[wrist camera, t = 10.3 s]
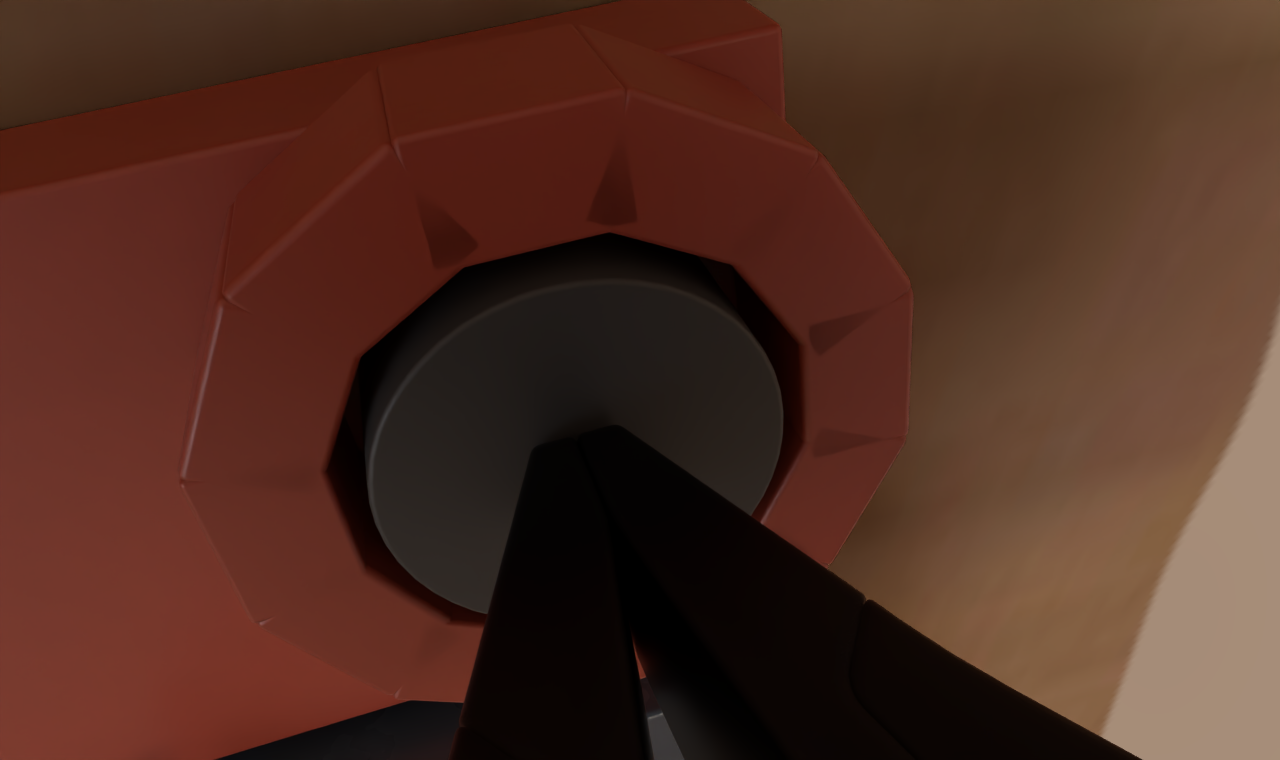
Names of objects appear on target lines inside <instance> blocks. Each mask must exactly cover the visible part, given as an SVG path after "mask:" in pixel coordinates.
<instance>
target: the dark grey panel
mask: <svg viewBox="0 0 1280 760" xmlns="http://www.w3.org/2000/svg"><path fill="white" fill-rule="evenodd" d="M640 680H641V685H642V691H643V697H644V703H645V708H646V714H647V720H648V726H649V731H650V737H651V743H652V749H653V755H654V760H684V758H683V756H682V753H681V751H680V749H679V747H678V745H677V743H676V740H675V738H674V736H673V734H672V732H671V730H670V728H669V725H668V723H667V721H666V719H665V717H664V715H663V712H662V710H661V708H660V706H659V704H658V702H657V699H656V697H655V695H654V693H653V691H652V689H651V686H650V684H649V682H648V680H647V678H646V677H645V678H642V679H640ZM462 707H463V703H460V702H439V701H419V700H409V701H406V702H403V703H399V704H396V705H393V706H390V707H386V708H383V709H380V710H376V711H373V712H370V713H367V714H363V715H360V716H357V717H353V718H350V719H347V720H344V721H340V722H337V723H334V724H330V725H327V726H324V727H321V728H317V729H314V730H311V731H307V732H304V733H301V734H297V735H294V736H291V737H288V738H284V739H281V740H278V741H274V742H271V743H268V744H265V745H261V746H258V747H255V748H251V749H248V750H245V751H242V752H238V753H235V754H232V755H228V756H225V757H222V758H218V759H215V760H448V758H449V754H450V750H451V747H452V743H453V739H454V735H455V732H456V730H457V729H458V728H459V727H460V726H459V718H460V715H461V711H462Z"/></svg>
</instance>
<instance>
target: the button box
mask: <svg viewBox="0 0 1280 760" xmlns="http://www.w3.org/2000/svg"><path fill="white" fill-rule="evenodd" d="M608 232H611V233H615V234H618V235H622V236H626V237H630V238H633V239H637V240H641V241H645V242H648V243H652V244H656V245H660V246H663V247H667V248H671V249H675V250H678V251H682V252H686V253H690V254H693V255H697V256H698V257H699V259H700V260H701V261H702V263H703V264H704V265H705V267H706V268H707V269H708V271H709V272H710V274H711V275H712V276H713V278H714V279H715V281H716V282H717V284H718V285H719V286H720V288H721V289H722V291H723V292H724V293H725V295H726V296H727V298H728V299H729V301H730V302H731V303H732V305H733V306H734V308H735V309H736V311H737V312H738V313H739V315H740V316H741V318H742V319H743V321H744V322H745V323H746V325H747V326H748V328H749V329H750V331H751V332H752V333H753V335H754V336H755V338H756V339H757V340H758V342H759V343H760V345H761V346H762V348H763V349H764V350H765V352H766V354H767V356H768V358H769V360H770V362H771V364H772V366H773V368H774V370H775V374H776V377H777V380H778V383H779V386H780V390H781V397H782V404H783V437H782V443H781V449H780V454H779V458H778V461H777V464H776V468H775V471H774V474H773V477H772V479H771V481H770V483H769V485H768V487H767V489H766V492H765V494H764V496H763V498H762V499H761V501H760V502H759V504H758V506H757V507H756V509H755V510H754V512H753V514H752V515H751V516H752V517H753V518H755V519H756V520H757V521H759V522H760V523H762V524H763V525H765V526H766V527H768V528H769V529H770V530H772V531H773V532H775V533H776V534H778V535H779V536H780V537H782V538H783V539H785V540H786V541H788V542H789V543H791V544H792V545H793V546H795V547H796V548H798V549H799V550H801V551H802V552H803V553H805V554H806V555H808V556H809V557H811V558H812V559H814V560H815V561H816V562H818V563H819V564H821V565H822V566H824V567H825V568H826V569H827V568H828V567H829V566H828V564H830V563H832V562H833V561H834V559H835V558H836V556H837V554H838V553H839V551H840V549H841V548H842V546H843V544H844V543H845V541H846V539H847V538H848V536H849V535H850V533H851V531H852V530H853V528H854V526H855V525H856V523H857V521H858V520H859V518H860V516H861V515H862V513H863V512H864V510H865V508H866V507H867V505H868V503H869V502H870V500H871V498H872V497H873V495H874V493H875V492H876V490H877V489H878V487H879V485H880V484H881V482H882V480H883V479H884V477H885V475H886V474H887V472H888V470H889V469H890V467H891V466H892V464H893V462H894V461H895V459H896V457H897V456H898V454H899V452H900V451H901V449H902V447H903V446H904V444H905V442H906V435H907V433H908V430H909V404H910V379H911V353H912V327H913V301H914V295H913V291H912V289H911V284H910V279H909V277H908V276H907V274H906V273H905V272H904V270H903V269H902V267H901V266H900V264H899V263H898V261H897V260H896V259H895V257H894V256H893V254H892V253H891V251H890V250H889V248H888V247H887V246H886V244H885V243H884V241H883V240H882V238H881V237H880V235H879V234H878V232H877V231H876V230H875V228H874V227H873V225H872V224H871V222H870V221H869V219H868V218H867V217H866V215H865V214H864V212H863V211H862V209H861V208H860V206H859V205H858V204H857V202H856V201H855V199H854V198H853V196H852V195H851V193H850V192H849V191H848V189H847V188H846V186H845V185H844V183H843V182H842V180H841V179H840V178H839V176H838V175H837V173H836V172H835V170H834V169H833V167H832V166H831V165H830V163H829V162H828V160H827V159H826V157H825V156H824V155H823V154H822V153H820V152H819V151H818V150H817V149H816V148H815V147H814V146H813V145H811V144H810V143H809V142H808V141H807V140H806V139H805V138H803V137H802V136H801V135H800V134H799V133H798V132H797V131H796V130H794V129H793V128H792V127H791V126H790V125H789V124H788V123H787V122H786V115H785V92H784V69H783V46H782V29H781V27H780V25H779V24H778V23H776V22H775V21H774V20H772V19H771V18H769V17H768V16H766V15H765V14H763V13H762V12H761V11H759V10H758V9H756V8H755V7H753V6H752V5H750V4H749V3H748V2H746V1H745V0H622V1H617V2H612V3H607V4H602V5H598V6H593V7H588V8H583V9H579V10H574V11H569V12H564V13H559V14H555V15H550V16H545V17H540V18H536V19H531V20H526V21H521V22H516V23H512V24H507V25H502V26H497V27H492V28H488V29H483V30H478V31H473V32H469V33H464V34H459V35H454V36H449V37H445V38H440V39H435V40H430V41H426V42H421V43H416V44H411V45H406V46H402V47H397V48H392V49H387V50H382V51H378V52H373V53H368V54H363V55H359V56H354V57H349V58H344V59H339V60H335V61H330V62H325V63H320V64H316V65H311V66H306V67H301V68H296V69H292V70H287V71H282V72H277V73H272V74H268V75H263V76H258V77H253V78H249V79H244V80H239V81H234V82H229V83H225V84H220V85H215V86H210V87H206V88H201V89H196V90H191V91H186V92H182V93H177V94H172V95H167V96H162V97H158V98H153V99H148V100H143V101H139V102H134V103H129V104H124V105H119V106H115V107H110V108H105V109H100V110H96V111H91V112H86V113H81V114H76V115H72V116H67V117H62V118H57V119H52V120H48V121H43V122H38V123H33V124H29V125H24V126H19V127H14V128H9V129H5V130H0V760H215V759H218V758H222V757H225V756H228V755H232V754H235V753H238V752H242V751H245V750H248V749H251V748H255V747H258V746H261V745H265V744H268V743H271V742H274V741H278V740H281V739H284V738H288V737H291V736H294V735H297V734H301V733H304V732H307V731H311V730H314V729H317V728H321V727H324V726H327V725H330V724H334V723H337V722H340V721H344V720H347V719H350V718H353V717H357V716H360V715H363V714H367V713H370V712H373V711H376V710H380V709H383V708H386V707H390V706H393V705H396V704H399V703H403V702H406V701H409V700H419V701H439V702H460V703H464V700H465V696H466V692H467V689H468V685H469V681H470V677H471V674H472V670H473V666H474V662H475V659H476V655H477V651H478V647H479V644H480V640H481V636H482V632H483V629H484V625H485V621H486V617H487V614H484V613H480V612H476V611H473V610H470V609H468V608H465V607H462V606H460V605H457V604H455V603H452V602H450V601H448V600H447V599H445V598H443V597H441V596H439V595H437V594H435V593H434V592H432V591H431V590H429V589H428V588H427V587H425V586H424V585H422V584H421V583H420V582H418V581H417V580H416V579H414V578H413V577H412V576H411V575H410V574H409V573H408V572H407V571H406V570H405V569H404V568H403V567H402V566H401V565H400V564H399V562H398V561H397V560H396V558H395V557H394V556H393V554H392V553H391V552H390V550H389V549H388V547H387V546H386V545H385V543H384V541H383V539H382V537H381V535H380V533H379V531H378V529H377V527H376V525H375V522H374V518H373V515H372V511H371V508H370V504H369V498H368V488H367V479H366V466H365V453H364V440H363V428H362V415H361V402H360V389H359V369H360V359H361V357H362V356H363V355H364V354H365V353H366V352H367V351H368V350H370V349H371V348H372V347H373V346H374V345H375V344H377V343H378V342H379V341H380V340H381V339H382V338H383V337H385V336H386V335H387V334H388V333H389V332H390V331H391V330H393V329H394V328H395V327H396V326H397V325H398V324H400V323H401V322H402V321H403V320H404V319H405V318H406V317H408V316H409V315H410V314H411V313H412V312H413V311H414V310H416V309H417V308H418V307H419V306H420V305H421V304H423V303H424V302H425V301H426V300H427V299H428V298H429V297H431V296H432V295H433V294H434V293H435V292H436V291H437V290H439V289H440V288H441V287H442V286H443V285H444V284H446V283H447V282H448V281H449V280H450V279H451V278H452V277H454V276H455V275H456V274H457V273H458V272H459V271H460V270H462V269H463V268H464V267H468V266H472V265H476V264H481V263H485V262H489V261H493V260H497V259H501V258H505V257H509V256H513V255H518V254H522V253H526V252H530V251H534V250H538V249H542V248H546V247H550V246H555V245H559V244H563V243H567V242H571V241H575V240H579V239H583V238H587V237H592V236H596V235H600V234H604V233H608ZM634 650H635V648H634ZM635 655H636V660H637V665H638V670H639V675H640V679H642V678H645V677H646V675H645V673H644V671H643V668H642V666H641V664H640V661H639V659H638V656H637V653H636V650H635Z"/></svg>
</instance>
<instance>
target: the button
mask: <svg viewBox="0 0 1280 760" xmlns="http://www.w3.org/2000/svg"><path fill="white" fill-rule="evenodd" d="M359 389H360V402H361V415H362V428H363V440H364V453H365V466H366V479H367V488H368V498H369V504H370V508H371V511H372V515H373V518H374V522H375V525H376V527H377V529H378V531H379V533H380V535H381V537H382V539H383V541H384V543H385V545H386V546H387V547H388V549H389V550H390V552H391V553H392V554H393V556H394V557H395V558H396V560H397V561H398V562H399V564H400V565H401V566H402V567H403V568H404V569H405V570H406V571H407V572H408V573H409V574H410V575H411V576H412V577H413V578H414V579H416V580H417V581H418V582H420V583H421V584H422V585H424V586H425V587H427V588H428V589H429V590H431V591H432V592H434V593H435V594H437V595H439V596H441V597H443V598H445V599H447V600H448V601H450V602H452V603H455V604H457V605H460V606H462V607H465V608H468V609H470V610H473V611H476V612H480V613H484V614H488V610H489V606H490V602H491V599H492V595H493V591H494V587H495V584H496V580H497V576H498V572H499V569H500V565H501V561H502V558H503V554H504V550H505V546H506V543H507V539H508V535H509V531H510V528H511V524H512V520H513V516H514V513H515V509H516V505H517V501H518V498H519V494H520V490H521V486H522V483H523V479H524V475H525V471H526V468H527V464H528V460H529V456H530V453H531V451H532V449H533V448H534V447H536V446H538V445H541V444H545V443H548V442H552V441H556V440H559V439H563V438H567V437H571V438H574V439H575V440H576V441H577V440H578V437H579V436H580V435H581V434H582V433H585V432H588V431H592V430H596V429H599V428H603V427H607V426H610V425H620V426H622V427H624V428H625V429H627V430H628V431H630V432H631V433H632V434H634V435H635V436H637V437H638V438H640V439H641V440H643V441H644V442H645V443H647V444H648V445H650V446H651V447H653V448H654V449H655V450H657V451H658V452H660V453H661V454H663V455H664V456H666V457H667V458H668V459H670V460H671V461H673V462H674V463H676V464H677V465H678V466H680V467H681V468H683V469H684V470H686V471H687V472H689V473H690V474H691V475H693V476H694V477H696V478H697V479H699V480H700V481H701V482H703V483H704V484H706V485H707V486H709V487H710V488H712V489H713V490H714V491H716V492H717V493H719V494H720V495H722V496H723V497H724V498H726V499H727V500H729V501H730V502H732V503H733V504H734V505H736V506H737V507H739V508H740V509H742V510H743V511H745V512H746V513H747V514H749V515H750V516H751V515H752V514H753V512H754V510H755V509H756V507H757V506H758V504H759V502H760V501H761V499H762V498H763V496H764V494H765V492H766V489H767V487H768V485H769V483H770V481H771V479H772V477H773V474H774V471H775V468H776V464H777V461H778V458H779V454H780V449H781V443H782V437H783V404H782V397H781V390H780V386H779V383H778V380H777V377H776V374H775V370H774V368H773V366H772V364H771V362H770V360H769V358H768V356H767V354H766V352H765V350H764V349H763V348H762V346H761V345H760V343H759V342H758V340H757V339H756V338H755V336H754V335H753V333H752V332H751V331H750V329H749V328H748V326H747V325H746V323H745V322H744V321H743V319H742V318H741V316H740V315H739V313H738V312H737V311H736V309H735V308H734V306H733V305H732V303H731V302H730V301H729V299H728V298H727V296H726V295H725V293H724V292H723V291H722V289H721V288H720V286H719V285H718V284H717V282H716V281H715V279H714V278H713V276H712V275H711V274H710V272H709V271H708V269H707V268H706V267H705V265H704V264H703V263H702V261H701V260H700V259H699V257H698V256H697V255H693V254H690V253H686V252H682V251H678V250H675V249H671V248H667V247H663V246H660V245H656V244H652V243H648V242H645V241H641V240H637V239H633V238H630V237H626V236H622V235H618V234H615V233H611V232H608V233H604V234H600V235H596V236H592V237H587V238H583V239H579V240H575V241H571V242H567V243H563V244H559V245H555V246H550V247H546V248H542V249H538V250H534V251H530V252H526V253H522V254H518V255H513V256H509V257H505V258H501V259H497V260H493V261H489V262H485V263H481V264H476V265H472V266H468V267H464V268H463V269H462V270H460V271H459V272H458V273H457V274H456V275H455V276H454V277H452V278H451V279H450V280H449V281H448V282H447V283H446V284H444V285H443V286H442V287H441V288H440V289H439V290H437V291H436V292H435V293H434V294H433V295H432V296H431V297H429V298H428V299H427V300H426V301H425V302H424V303H423V304H421V305H420V306H419V307H418V308H417V309H416V310H414V311H413V312H412V313H411V314H410V315H409V316H408V317H406V318H405V319H404V320H403V321H402V322H401V323H400V324H398V325H397V326H396V327H395V328H394V329H393V330H391V331H390V332H389V333H388V334H387V335H386V336H385V337H383V338H382V339H381V340H380V341H379V342H378V343H377V344H375V345H374V346H373V347H372V348H371V349H370V350H368V351H367V352H366V353H365V354H364V355H363V356H362V357H361V359H360V369H359Z"/></svg>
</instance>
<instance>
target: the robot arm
mask: <svg viewBox="0 0 1280 760" xmlns="http://www.w3.org/2000/svg"><path fill="white" fill-rule="evenodd" d="M634 648H635V650H636V653H637V656H638V659H639V661H640V664H641V666H642V668H643V671H644V673H645V675H646V678H647V680H648V682H649V684H650V686H651V689H652V691H653V693H654V695H655V697H656V699H657V702H658V704H659V706H660V708H661V710H662V712H663V715H664V717H665V719H666V721H667V723H668V725H669V728H670V730H671V732H672V734H673V736H674V738H675V740H676V743H677V745H678V747H679V749H680V751H681V753H682V756H683V758H684V760H1142V759H1140V758H1138V757H1137V756H1135V755H1133V754H1131V753H1129V752H1127V751H1125V750H1124V749H1122V748H1120V747H1118V746H1116V745H1115V744H1113V743H1111V742H1109V741H1107V740H1106V739H1104V738H1102V737H1100V736H1098V735H1096V734H1095V733H1093V732H1091V731H1089V730H1087V729H1085V728H1084V727H1082V726H1080V725H1078V724H1076V723H1074V722H1073V721H1071V720H1069V719H1067V718H1065V717H1063V716H1062V715H1060V714H1058V713H1056V712H1054V711H1052V710H1051V709H1049V708H1047V707H1045V706H1043V705H1041V704H1040V703H1038V702H1036V701H1034V700H1032V699H1031V698H1029V697H1027V696H1025V695H1023V694H1021V693H1020V692H1018V691H1016V690H1014V689H1012V688H1011V687H1009V686H1007V685H1005V684H1004V683H1002V682H1000V681H998V680H997V679H995V678H993V677H992V676H990V675H988V674H986V673H985V672H983V671H981V670H979V669H978V668H976V667H974V666H973V665H971V664H969V663H967V662H966V661H964V660H962V659H960V658H959V657H957V656H955V655H954V654H952V653H950V652H949V651H947V650H946V649H944V648H943V647H941V646H940V645H938V644H937V643H935V642H934V641H932V640H931V639H929V638H928V637H926V636H924V635H923V634H921V633H920V632H918V631H917V630H915V629H914V628H912V627H911V626H909V625H908V624H906V623H905V622H903V621H902V620H900V619H899V618H897V617H896V616H894V615H893V614H892V613H890V612H889V611H887V610H886V609H884V608H883V607H882V606H880V605H879V604H877V603H876V602H874V601H873V600H867V601H866V598H865V596H864V594H862V593H861V592H860V591H858V590H857V589H855V588H854V587H852V586H851V585H849V584H848V583H847V582H845V581H844V580H842V579H841V578H839V577H838V576H837V575H835V574H834V573H832V572H831V571H829V570H828V569H826V568H825V567H824V566H822V565H821V564H819V563H818V562H816V561H815V560H814V559H812V558H811V557H809V556H808V555H806V554H805V553H803V552H802V551H801V550H799V549H798V548H796V547H795V546H793V545H792V544H791V543H789V542H788V541H786V540H785V539H783V538H782V537H780V536H779V535H778V534H776V533H775V532H773V531H772V530H770V529H769V528H768V527H766V526H765V525H763V524H762V523H760V522H759V521H757V520H756V519H755V518H753V517H752V516H750V515H749V514H747V513H746V512H745V511H743V510H742V509H740V508H739V507H737V506H736V505H734V504H733V503H732V502H730V501H729V500H727V499H726V498H724V497H723V496H722V495H720V494H719V493H717V492H716V491H714V490H713V489H712V488H710V487H709V486H707V485H706V484H704V483H703V482H701V481H700V480H699V479H697V478H696V477H694V476H693V475H691V474H690V473H689V472H687V471H686V470H684V469H683V468H681V467H680V466H678V465H677V464H676V463H674V462H673V461H671V460H670V459H668V458H667V457H666V456H664V455H663V454H661V453H660V452H658V451H657V450H655V449H654V448H653V447H651V446H650V445H648V444H647V443H645V442H644V441H643V440H641V439H640V438H638V437H637V436H635V435H634V434H632V433H631V432H630V431H628V430H627V429H625V428H624V427H622V426H620V425H610V426H607V427H603V428H599V429H596V430H592V431H588V432H585V433H582V434H581V435H580V436H579V437H578V440H577V441H576V440H575V439H574V438H571V437H567V438H563V439H559V440H556V441H552V442H548V443H545V444H541V445H538V446H536V447H534V448H533V449H532V451H531V453H530V456H529V460H528V464H527V468H526V471H525V475H524V479H523V483H522V486H521V490H520V494H519V498H518V501H517V505H516V509H515V513H514V516H513V520H512V524H511V528H510V531H509V535H508V539H507V543H506V546H505V550H504V554H503V558H502V561H501V565H500V569H499V572H498V576H497V580H496V584H495V587H494V591H493V595H492V599H491V602H490V606H489V610H488V614H487V617H486V621H485V625H484V629H483V632H482V636H481V640H480V644H479V647H478V651H477V655H476V659H475V662H474V666H473V670H472V674H471V677H470V681H469V685H468V689H467V692H466V696H465V700H464V703H463V707H462V711H461V715H460V718H459V726H460V727H459V728H458V729H457V730H456V732H455V735H454V739H453V743H452V747H451V750H450V754H449V758H448V760H654V755H653V749H652V743H651V737H650V731H649V726H648V720H647V714H646V708H645V703H644V697H643V691H642V685H641V680H640V675H639V670H638V665H637V660H636V655H635V650H634Z"/></svg>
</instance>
